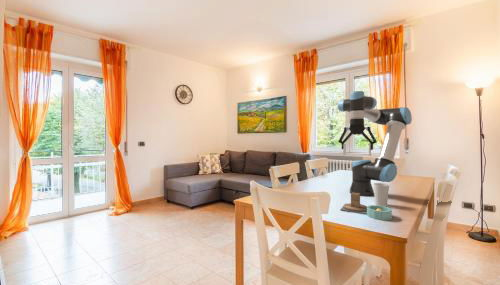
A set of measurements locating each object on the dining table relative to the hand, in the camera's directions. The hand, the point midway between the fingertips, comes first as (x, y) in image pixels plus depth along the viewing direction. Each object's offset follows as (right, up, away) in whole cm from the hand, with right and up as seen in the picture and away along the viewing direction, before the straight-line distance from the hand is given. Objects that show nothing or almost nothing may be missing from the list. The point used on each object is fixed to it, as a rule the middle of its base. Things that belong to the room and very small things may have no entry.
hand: (356, 155), depth 140 cm
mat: (-4, -29, -8) cm, 30 cm away
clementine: (+2, -27, -20) cm, 33 cm away
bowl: (+2, -29, -20) cm, 35 cm away
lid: (-4, -28, -8) cm, 30 cm away
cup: (+14, -29, -1) cm, 32 cm away
